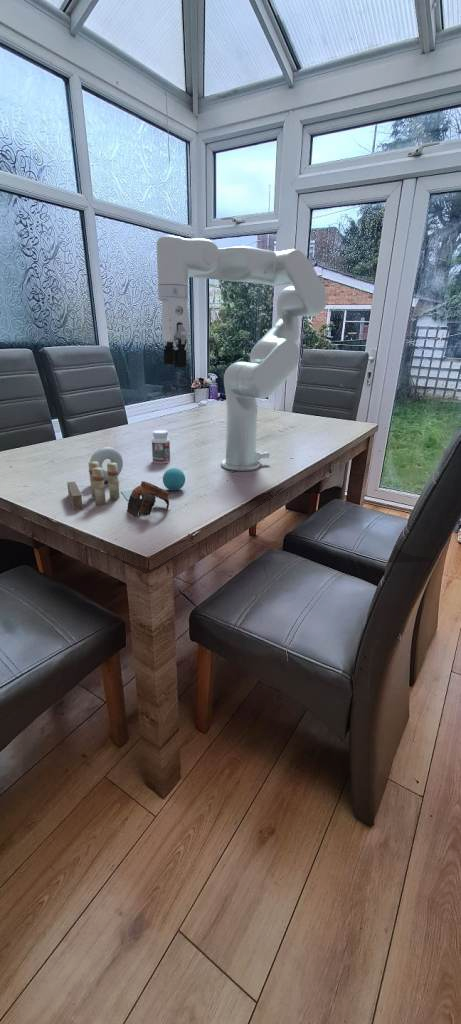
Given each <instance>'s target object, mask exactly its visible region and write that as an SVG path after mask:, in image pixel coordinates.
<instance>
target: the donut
mask: <svg viewBox="0 0 461 1024" xmlns="http://www.w3.org/2000/svg"><path fill="white" fill-rule="evenodd" d="M105 460H109V461H110V463H117V470H118V476H119V475H120V474H121V473H122V470H123V464H124V461H123V457H122V455H121V453H120V452H119V450H117V449H116V448H114V447H112V446H103V447H100V448H98V449H97V450H96V451H94V453H93V454H92V455H91V457H90V460H89V462H93V461H96V462H98V463H99V467H100V468H103V463H104V462H105ZM103 476H104V483H107V482H108V473H107V469H103ZM108 483H109V482H108Z"/></svg>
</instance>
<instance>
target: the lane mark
mask: <svg viewBox="0 0 461 1024" xmlns="http://www.w3.org/2000/svg"><path fill="white" fill-rule="evenodd" d="M133 490H134V489H132V490H125V491H121V494H122V495H123V496H124V498H125V499H126V500H127V502H129V498H130V495H131V493H132V491H133ZM155 497H156V496H155ZM156 498H157V497H156ZM140 499H142V496H141V495H140Z"/></svg>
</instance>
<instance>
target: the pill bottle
mask: <svg viewBox="0 0 461 1024" xmlns="http://www.w3.org/2000/svg"><path fill="white" fill-rule="evenodd" d="M152 436H153V438H152V439H151V452H152V453H151V454H152V462H153V463H155V464H160V465H161V464H167V463H170V461H171V447H170V446H171V443H170V439H169V437H168V436H169V433H168V430H163V429H157V430H153V431H152Z"/></svg>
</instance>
